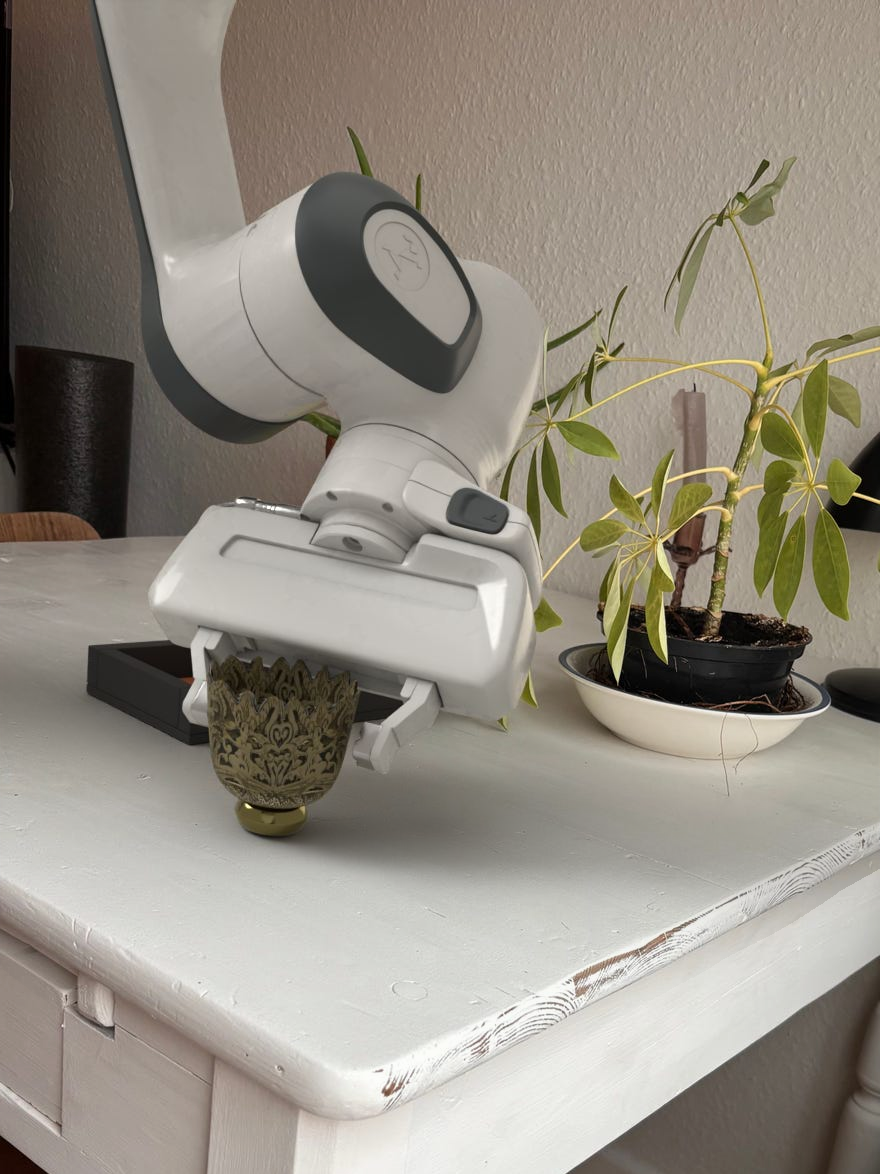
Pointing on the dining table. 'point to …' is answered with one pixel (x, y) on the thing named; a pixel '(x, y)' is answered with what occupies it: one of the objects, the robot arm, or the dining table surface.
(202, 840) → the dining table surface
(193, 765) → the dining table surface
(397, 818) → the dining table surface
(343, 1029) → the dining table surface
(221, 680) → the cup
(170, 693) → the tray
